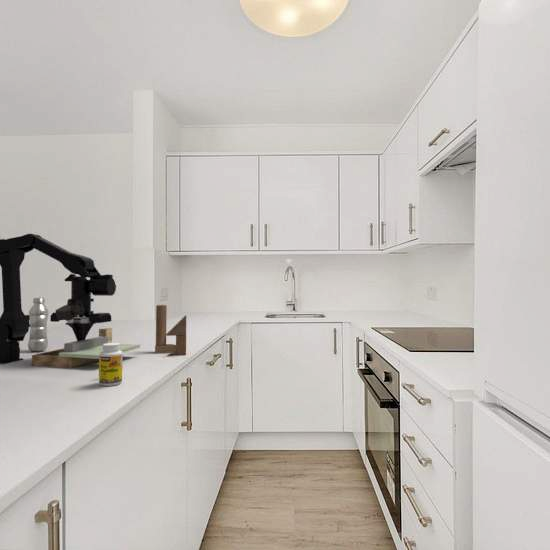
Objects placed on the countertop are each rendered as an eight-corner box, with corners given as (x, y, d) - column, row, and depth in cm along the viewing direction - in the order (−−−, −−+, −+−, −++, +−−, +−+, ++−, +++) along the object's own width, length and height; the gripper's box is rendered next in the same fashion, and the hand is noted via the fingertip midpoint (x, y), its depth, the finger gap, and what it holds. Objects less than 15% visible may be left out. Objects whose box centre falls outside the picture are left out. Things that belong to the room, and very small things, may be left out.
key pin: (98, 353, 141) (98, 328, 141) (104, 352, 144) (104, 327, 144) (106, 354, 140) (106, 329, 140) (111, 352, 143) (112, 328, 143)
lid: (58, 356, 114) (59, 344, 114) (104, 345, 133) (104, 335, 133) (99, 358, 110) (99, 346, 110) (140, 347, 130) (140, 337, 130)
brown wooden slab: (31, 368, 116) (31, 355, 116) (80, 356, 135) (80, 344, 135) (71, 371, 113) (71, 357, 113) (114, 358, 132) (115, 346, 132)
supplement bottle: (96, 387, 96) (97, 346, 96) (101, 381, 101) (101, 342, 101) (120, 386, 97) (120, 345, 97) (123, 380, 102) (124, 341, 103)
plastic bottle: (43, 349, 149) (44, 297, 149) (51, 351, 145) (52, 298, 146) (24, 351, 144) (25, 298, 144) (32, 353, 140) (33, 298, 140)
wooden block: (186, 355, 139) (186, 305, 139) (154, 356, 136) (155, 305, 136) (185, 353, 142) (186, 304, 143) (155, 354, 140) (155, 304, 140)
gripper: (36, 296, 118) (35, 347, 118) (88, 296, 114) (87, 349, 114) (64, 295, 129) (63, 341, 129) (112, 295, 125) (112, 343, 125)
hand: (80, 344), depth 124 cm, fingers closed
